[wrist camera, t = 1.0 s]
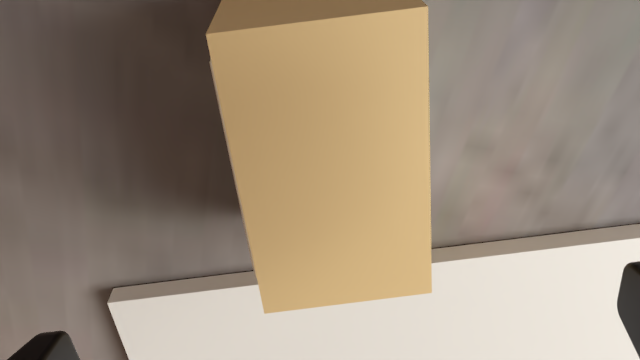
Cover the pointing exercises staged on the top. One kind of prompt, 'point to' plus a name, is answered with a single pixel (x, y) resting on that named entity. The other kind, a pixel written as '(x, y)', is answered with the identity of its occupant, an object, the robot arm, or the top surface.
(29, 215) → the top surface
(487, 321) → the shelf
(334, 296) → the tea box
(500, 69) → the top surface
